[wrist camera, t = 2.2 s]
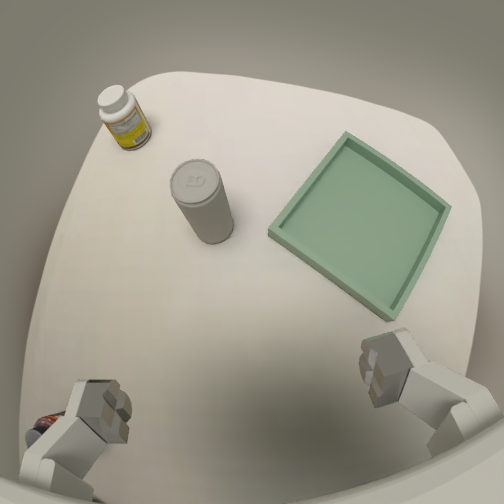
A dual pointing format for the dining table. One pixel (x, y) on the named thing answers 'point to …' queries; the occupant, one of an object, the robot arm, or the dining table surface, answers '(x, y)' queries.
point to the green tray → (363, 225)
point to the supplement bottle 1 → (41, 428)
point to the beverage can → (202, 199)
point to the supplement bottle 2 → (123, 117)
